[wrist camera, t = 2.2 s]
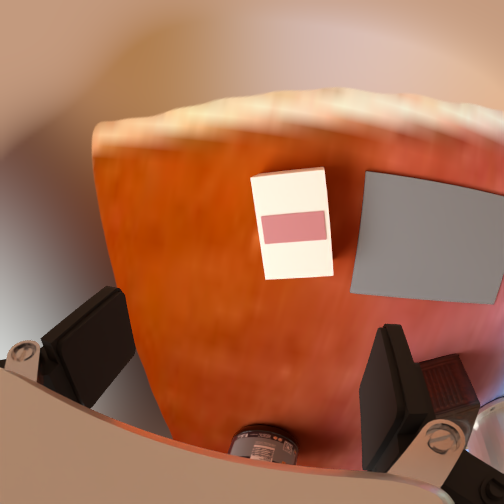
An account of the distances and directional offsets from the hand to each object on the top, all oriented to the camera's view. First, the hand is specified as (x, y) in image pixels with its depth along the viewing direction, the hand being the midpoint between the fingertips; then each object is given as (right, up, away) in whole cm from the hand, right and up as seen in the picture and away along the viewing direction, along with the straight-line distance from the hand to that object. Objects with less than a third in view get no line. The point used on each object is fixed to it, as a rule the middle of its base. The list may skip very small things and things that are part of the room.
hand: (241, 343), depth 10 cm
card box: (+5, +7, +18) cm, 20 cm away
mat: (+19, +4, +16) cm, 25 cm away
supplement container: (+3, -26, +31) cm, 41 cm away
